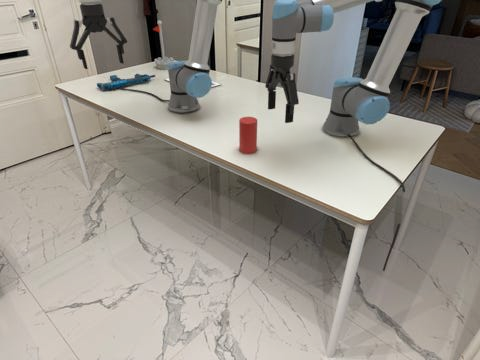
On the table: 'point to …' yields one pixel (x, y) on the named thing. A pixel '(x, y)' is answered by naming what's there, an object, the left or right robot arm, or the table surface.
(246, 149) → the canister
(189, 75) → the left robot arm
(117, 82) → the submachine gun
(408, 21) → the right robot arm
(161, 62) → the flag stand
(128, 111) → the table surface
